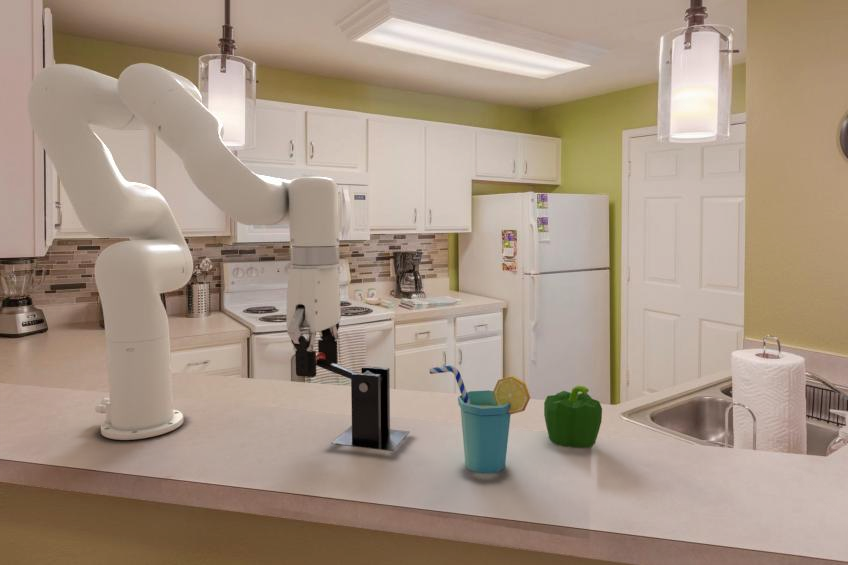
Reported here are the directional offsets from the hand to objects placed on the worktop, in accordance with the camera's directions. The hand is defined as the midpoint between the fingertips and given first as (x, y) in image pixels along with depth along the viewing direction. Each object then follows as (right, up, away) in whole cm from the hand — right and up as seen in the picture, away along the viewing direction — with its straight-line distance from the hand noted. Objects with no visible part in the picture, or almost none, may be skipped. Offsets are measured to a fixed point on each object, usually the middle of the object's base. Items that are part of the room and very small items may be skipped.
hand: (317, 369), depth 91 cm
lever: (+4, -1, -1) cm, 4 cm away
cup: (+24, -13, -11) cm, 30 cm away
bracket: (+9, -12, -1) cm, 15 cm away
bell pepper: (+40, -12, -2) cm, 42 cm away
